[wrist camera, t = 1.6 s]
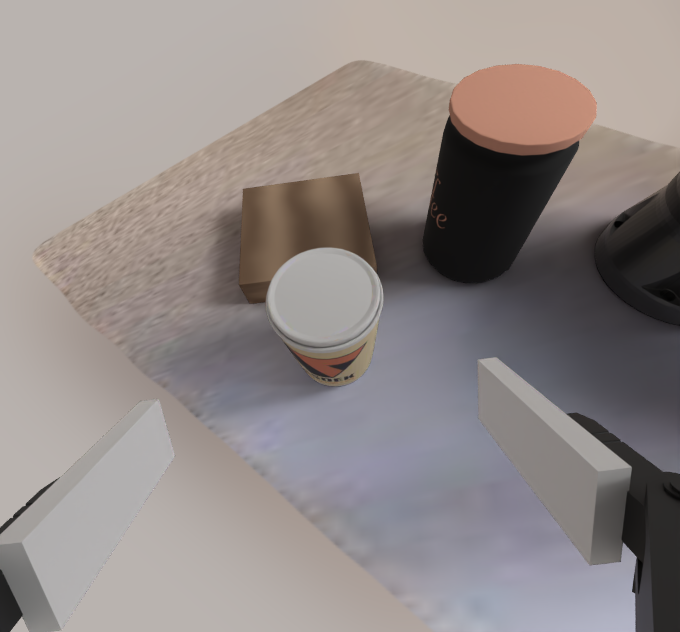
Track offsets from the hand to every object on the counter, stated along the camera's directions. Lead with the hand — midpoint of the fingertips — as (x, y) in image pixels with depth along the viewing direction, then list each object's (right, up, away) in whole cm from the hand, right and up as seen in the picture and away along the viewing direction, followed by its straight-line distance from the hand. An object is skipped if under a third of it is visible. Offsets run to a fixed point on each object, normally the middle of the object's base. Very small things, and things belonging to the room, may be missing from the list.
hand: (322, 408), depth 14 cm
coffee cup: (0, 0, +23) cm, 23 cm away
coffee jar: (+16, +12, +28) cm, 35 cm away
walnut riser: (-3, +13, +30) cm, 33 cm away
